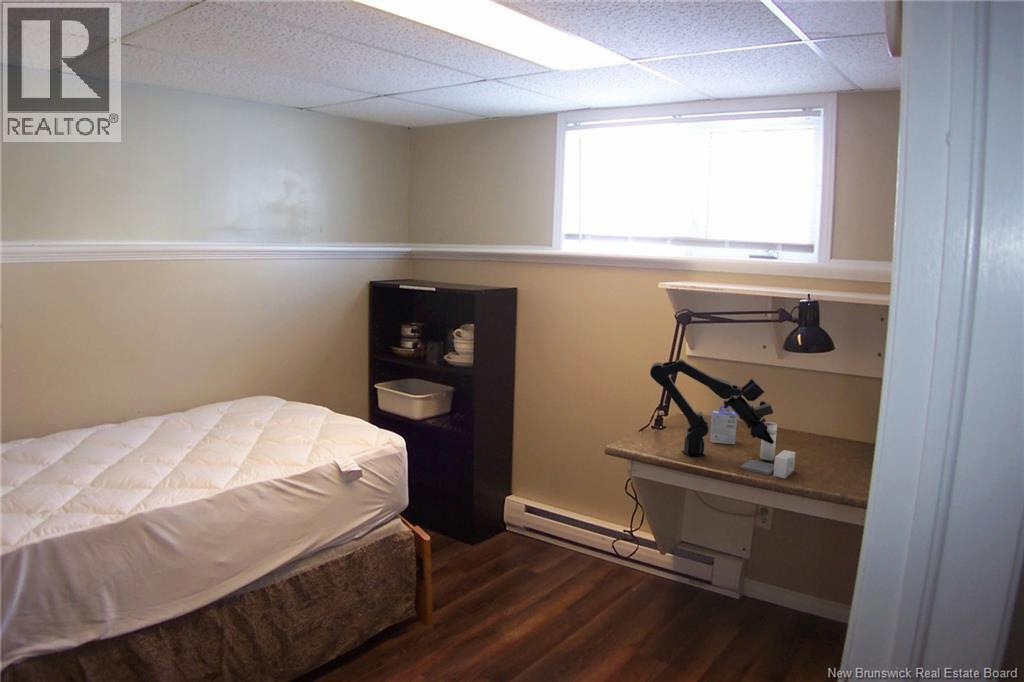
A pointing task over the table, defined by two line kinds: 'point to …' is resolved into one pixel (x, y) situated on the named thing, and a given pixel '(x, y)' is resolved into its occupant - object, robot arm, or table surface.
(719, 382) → the robot arm
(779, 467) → the block
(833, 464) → the table surface
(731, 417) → the ink cartridge box
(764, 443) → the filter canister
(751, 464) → the dock mat
